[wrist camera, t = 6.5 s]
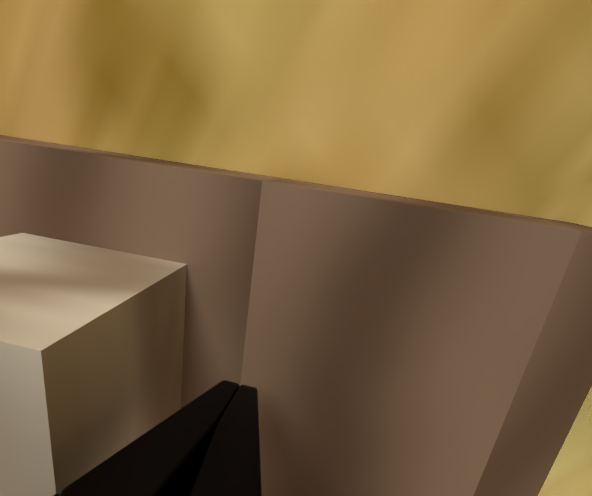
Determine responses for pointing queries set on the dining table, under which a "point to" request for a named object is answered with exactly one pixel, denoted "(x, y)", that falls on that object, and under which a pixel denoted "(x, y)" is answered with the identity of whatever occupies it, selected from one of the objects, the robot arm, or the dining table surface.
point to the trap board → (346, 315)
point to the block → (82, 356)
